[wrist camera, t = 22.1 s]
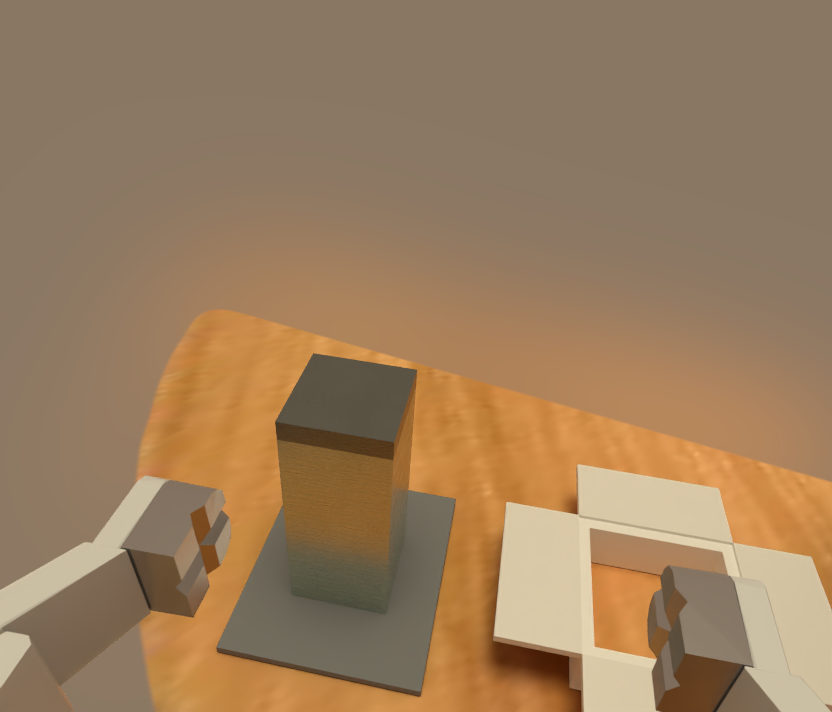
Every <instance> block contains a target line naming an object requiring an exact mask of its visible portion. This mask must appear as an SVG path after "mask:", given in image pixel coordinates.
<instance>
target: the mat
mask: <svg viewBox="0 0 832 712" xmlns="http://www.w3.org/2000/svg"><path fill="white" fill-rule="evenodd" d="M455 501H456V499H453V498H448V497H442V496H437V495H431V494H426V493H420V492H415V491H409V490H408V502H407V515H406V529H405V539H404V543H403V547H402V551H401V555H400V559H399V563H398V567H397V571H396V575H395V578H394V582H393V586H392V590H391V594H390V598H389V602H388V606H387V610H386V614H380V613H375V612H370V611H365V610H361V609H356V608H351V607H346V606H341V605H336V604H331V603H327V602H322V601H317V600H312V599H307V598H302V597H298V596H293V595H291V584H290V574H289V563H288V552H287V542H286V531H285V520H284V510H283V506H282V508H281V510H280V512H279V514H278V516H277V519H276V521H275V523H274V525H273V527H272V529H271V531H270V534H269V536H268V538H267V540H266V542H265V544H264V546H263V549H262V551H261V553H260V555H259V557H258V559H257V561H256V564H255V566H254V568H253V570H252V572H251V574H250V576H249V579H248V581H247V583H246V585H245V587H244V589H243V591H242V594H241V596H240V598H239V600H238V602H237V604H236V606H235V609H234V611H233V613H232V615H231V617H230V619H229V621H228V624H227V626H226V628H225V630H224V632H223V634H222V636H221V639H220V641H219V643H218V645H217V647H216V648H217V652H221V653H225V654H230V655H234V656H239V657H243V658H248V659H253V660H257V661H262V662H266V663H271V664H275V665H280V666H284V667H289V668H294V669H298V670H303V671H307V672H312V673H316V674H321V675H325V676H330V677H335V678H339V679H344V680H348V681H353V682H357V683H362V684H366V685H371V686H376V687H380V688H385V689H389V690H394V691H398V692H403V693H407V694H412V695H417V696H420V695H421V689H422V684H423V678H424V673H425V667H426V662H427V656H428V651H429V645H430V640H431V634H432V628H433V623H434V617H435V612H436V606H437V601H438V595H439V590H440V584H441V579H442V573H443V568H444V562H445V557H446V551H447V545H448V540H449V534H450V529H451V523H452V518H453V512H454V507H455Z"/></svg>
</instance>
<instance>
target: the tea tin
mask: <svg viewBox="0 0 832 712" xmlns="http://www.w3.org/2000/svg"><path fill="white" fill-rule="evenodd" d="M416 379H417V370H414V369H408V368H402V367H396V366H389V365H383V364H377V363H371V362H364V361H358V360H352V359H346V358H339V357H333V356H327V355H320V354H314V353H313V355H312V357H311V359H310V360H309V362H308V364H307V366H306V368H305V369H304V371H303V373H302V375H301V377H300V378H299V380H298V382H297V384H296V386H295V387H294V389H293V391H292V393H291V395H290V396H289V398H288V400H287V402H286V404H285V405H284V407H283V409H282V411H281V412H280V414H279V416H278V418H277V420H276V421H275V424H276V435H277V445H278V456H279V467H280V477H281V488H282V499H283V510H284V520H285V531H286V542H287V552H288V563H289V574H290V584H291V595H293V596H298V597H302V598H307V599H312V600H317V601H322V602H327V603H331V604H336V605H341V606H346V607H351V608H356V609H361V610H365V611H370V612H375V613H380V614H386V610H387V606H388V602H389V598H390V594H391V590H392V586H393V582H394V578H395V575H396V571H397V567H398V563H399V559H400V555H401V551H402V547H403V543H404V539H405V529H406V515H407V502H408V488H409V474H410V461H411V447H412V433H413V420H414V406H415V392H416Z"/></svg>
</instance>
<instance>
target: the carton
mask: <svg viewBox="0 0 832 712" xmlns="http://www.w3.org/2000/svg"><path fill="white" fill-rule="evenodd" d="M576 478H577V514H571V513H566V512H560V511H555V510H549V509H544V508H538V507H532V506H527V505H521V504H516V503H510V502H507V503H506V509H505V519H504V530H503V540H502V550H501V561H500V571H499V582H498V592H497V603H496V613H495V623H494V634H493V641H497V642H501V643H506V644H511V645H516V646H521V647H526V648H531V649H535V650H540V651H545V652H550V653H555V654H560V655H564V656H569V688H572V689H576V690H581V700H582V712H660V711H656V708H655V699H654V690H653V681H652V669H653V667H654V665H655V663H656V661H657V660H656V659H652V658H647V657H642V656H637V655H632V654H627V653H622V652H617V651H612V650H607V649H602V648H598V647H594V624H593V600H592V576H591V562H593V563H598V564H604V565H609V566H614V567H620V568H625V569H630V570H636V571H641V572H646V573H651V574H657V575H662V573H663V570H664V568H666V567H667V566H668V565H670V566H677V567H683V568H690V569H696V570H702V571H709V572H715V573H722V574H727V575H728V576H735V577H741V578H747V579H754V580H759V581H761V582H762V583H763V584H764V586H765V587H766V590H767V593H768V597H769V600H770V604H771V607H772V611H773V614H774V618H775V621H776V625H777V628H778V631H779V635H780V638H781V642H782V645H783V649H784V652H785V656H786V659H787V663H788V666H789V670H790V673H791V675H794V676H798V677H801V678H802V679H803V680H804V681H805V682H806V684H807V685H808V686H809V687H810V688H811V689H812V690H813V691H814V693H815V694H816V695H817V696H818V697H819V698H820V699H821V700H822V702H823V703H824V704H825V705H826V706H827V707H828V708H829V709H830V710H831V711H832V610H831V607H830V604H829V602H828V599H827V597H826V594H825V591H824V589H823V586H822V583H821V581H820V578H819V575H818V573H817V570H816V568H815V565H814V562H813V560H812V557H809V556H804V555H798V554H793V553H787V552H782V551H776V550H771V549H765V548H760V547H754V546H748V545H743V544H737V543H733V540H732V537H731V533H730V529H729V525H728V522H727V518H726V514H725V510H724V507H723V503H722V499H721V495H720V491H719V488H714V487H708V486H702V485H696V484H690V483H685V482H679V481H673V480H667V479H661V478H655V477H650V476H644V475H638V474H632V473H626V472H620V471H615V470H609V469H603V468H597V467H591V466H585V465H580V464H578V465H577V468H576Z"/></svg>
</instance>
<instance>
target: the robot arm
mask: <svg viewBox="0 0 832 712" xmlns="http://www.w3.org/2000/svg"><path fill="white" fill-rule="evenodd" d="M225 502H226V501H225V498H224V494H223V491H222V490H219V489H213V488H208V487H203V486H198V485H193V484H188V483H183V482H178V481H173V480H168V479H162V478H157V477H151V476H144V477H143V478H141V479H140V480H138V481H137V482H136V484H135V485H134V486H133V488H132V489H131V491H130V492H129V493H128V495H127V496H126V497H125V499H124V500H123V501H122V503H121V504H120V506H119V507H118V508H117V510H116V511H115V512H114V514H113V515H112V516H111V518H110V519H109V521H108V522H107V523H106V525H105V526H104V527H103V529H102V530H101V532H100V533H99V534H98V536H97V537H96V539H95V540H94V541H93V543H88V542H84V543H82V544H81V545H79V546H77V547H75V548H73V549H72V550H70V551H68V552H66V553H65V554H63V555H61V556H60V557H58V558H56V559H54V560H52V561H51V562H49V563H47V564H46V565H44V566H42V567H40V568H38V569H37V570H35V571H33V572H31V573H30V574H28V575H26V576H24V577H23V578H21V579H19V580H17V581H15V582H14V583H12V584H10V585H8V586H7V587H5V588H3V589H2V590H0V712H73V708H72V705H71V703H70V702H69V700H68V699H67V697H66V695H65V694H64V692H63V690H62V689H61V687H60V686H61V685H62V684H63V683H64V682H65V681H67V680H68V679H69V678H71V677H72V676H73V675H74V674H76V673H77V672H78V671H79V670H80V669H82V668H83V667H84V666H85V665H87V664H88V663H89V662H90V661H92V660H93V659H94V658H95V657H97V656H98V655H99V654H100V653H102V652H103V651H104V650H105V649H106V648H108V647H109V646H110V645H111V644H113V643H114V642H115V641H116V640H118V639H119V638H120V637H121V636H122V635H124V634H125V633H126V632H128V631H129V630H130V629H131V628H132V627H134V626H135V625H136V624H137V623H139V622H140V621H141V620H142V619H144V618H145V617H146V616H147V615H149V614H150V610H152V611H158V612H164V613H170V614H176V615H182V616H187V617H194V615H195V613H196V611H197V610H198V608H199V606H200V604H201V602H202V600H203V598H204V596H205V594H206V592H207V590H208V588H209V581H208V577H207V574H209V573H210V572H212V571H213V570H215V569H216V568H218V567H219V566H220V565H221V563H222V561H223V559H224V557H225V555H226V553H227V549H228V545H229V542H230V538H231V524H230V519H229V517H228V516H227V515H226V514H225V513H224V512H223V511H222V508H223V506H224V504H225ZM660 578H661V586H662V589H661V590H659V591H657V592H655V593H654V594H653V597H652V600H651V602H650V606H649V613H648V643H649V648H650V649H651V650H652V652H653V653H654V654H655V656H656V657H657V661H656V663H655V665H654V667H653V669H652V681H653V690H654V699H655V708H656V711H660V712H831V711H830V709H829V708H828V707H827V706H826V705H825V704H824V703H823V702H822V700H821V699H820V698H819V697H818V696H817V695H816V694H815V693H814V691H813V690H812V689H811V688H810V687H809V686H808V685H807V684H806V682H805V681H804V680H803V679H802V678H801V677H798V676H794V675H791V673H790V670H789V666H788V663H787V659H786V656H785V652H784V649H783V645H782V642H781V638H780V635H779V631H778V628H777V625H776V621H775V618H774V614H773V611H772V607H771V604H770V600H769V597H768V593H767V590H766V587H765V586H764V584H763V583H762V582H761V581H759V580H754V579H747V578H741V577H735V576H728V575H727V574H722V573H715V572H709V571H702V570H696V569H690V568H683V567H677V566H670V565H668V566H667V567H666V568H664V570H663V573H662V575H661V577H660Z"/></svg>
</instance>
